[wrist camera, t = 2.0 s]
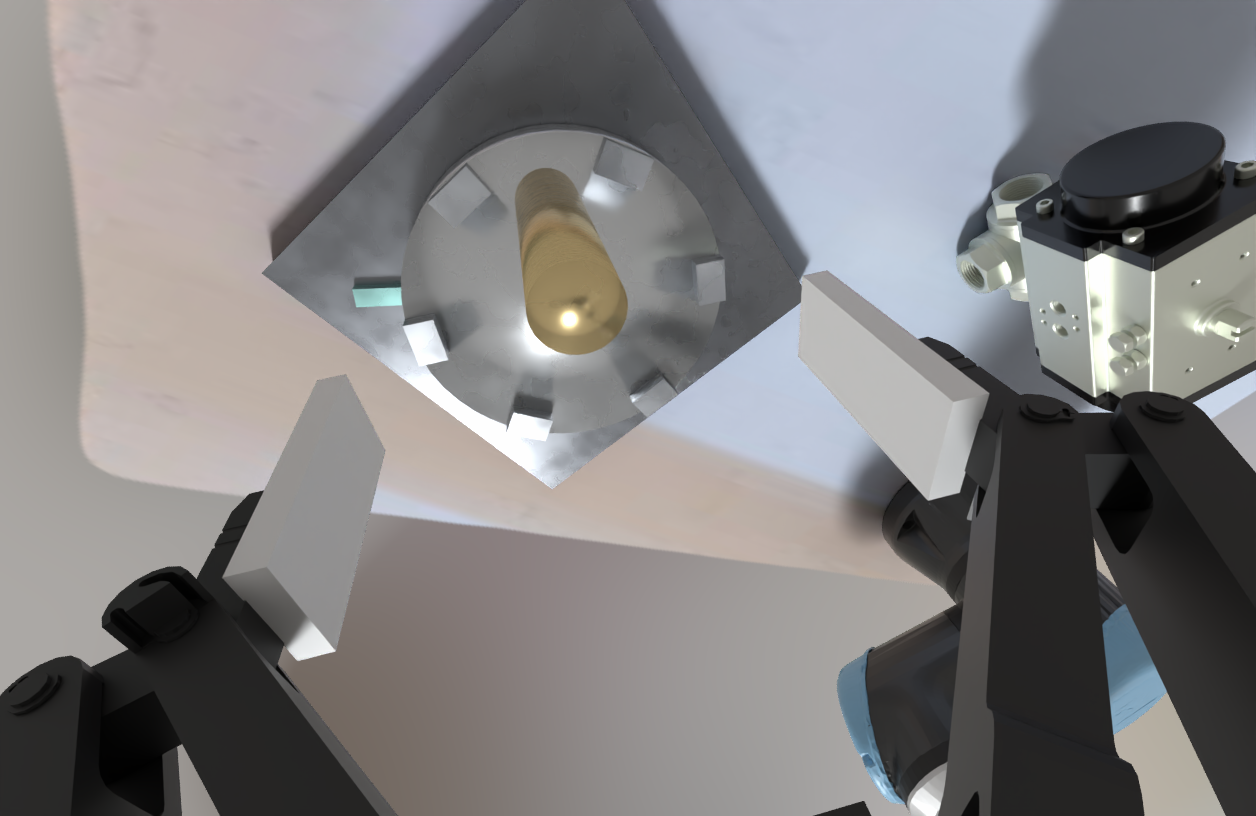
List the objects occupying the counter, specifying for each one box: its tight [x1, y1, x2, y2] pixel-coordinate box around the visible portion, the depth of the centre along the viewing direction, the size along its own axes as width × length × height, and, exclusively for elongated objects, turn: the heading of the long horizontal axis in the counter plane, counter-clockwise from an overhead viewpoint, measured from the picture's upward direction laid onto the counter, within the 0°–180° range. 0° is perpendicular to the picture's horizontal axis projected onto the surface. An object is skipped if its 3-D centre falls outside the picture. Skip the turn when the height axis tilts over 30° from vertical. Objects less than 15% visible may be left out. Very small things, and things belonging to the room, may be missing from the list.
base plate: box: [262, 0, 802, 489], centre depth 39 cm, size 26×26×3 cm
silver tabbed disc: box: [401, 124, 726, 441], centre depth 31 cm, size 20×20×18 cm
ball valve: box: [956, 122, 1256, 412], centre depth 38 cm, size 18×8×18 cm, turn 32°
